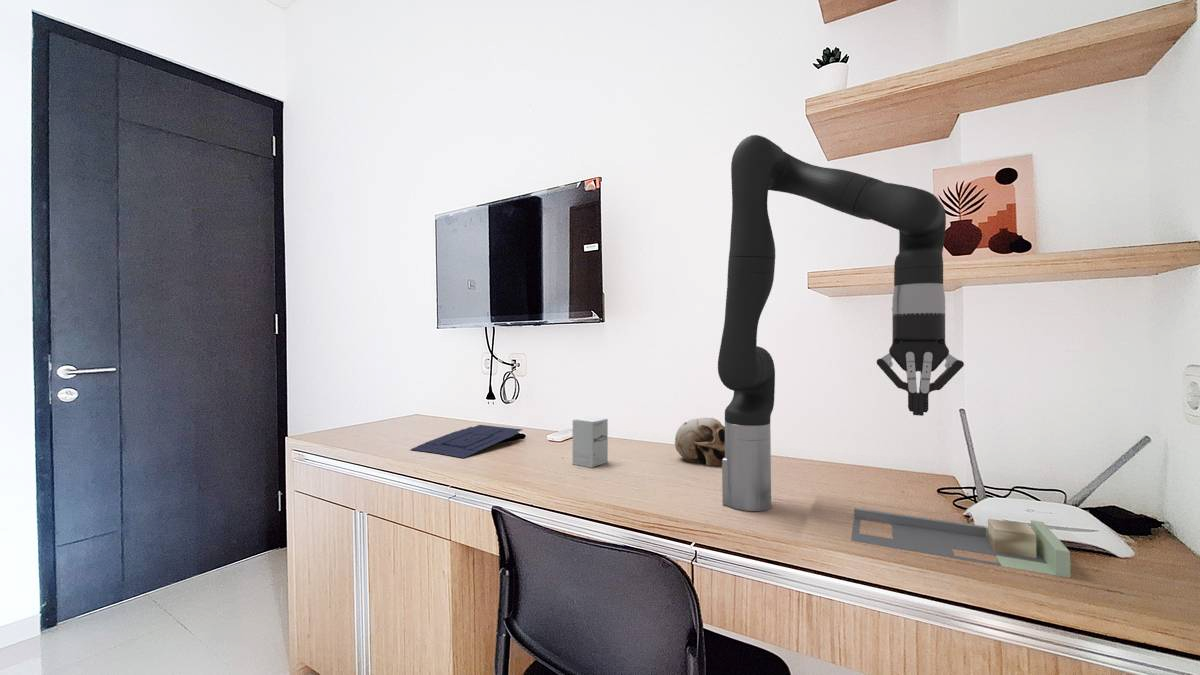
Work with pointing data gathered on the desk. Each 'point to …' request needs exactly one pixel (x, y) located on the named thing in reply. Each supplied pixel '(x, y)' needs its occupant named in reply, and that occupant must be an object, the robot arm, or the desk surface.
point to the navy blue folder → (467, 440)
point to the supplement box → (590, 441)
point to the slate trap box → (963, 541)
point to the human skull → (701, 441)
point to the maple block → (1012, 538)
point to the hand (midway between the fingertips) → (918, 414)
